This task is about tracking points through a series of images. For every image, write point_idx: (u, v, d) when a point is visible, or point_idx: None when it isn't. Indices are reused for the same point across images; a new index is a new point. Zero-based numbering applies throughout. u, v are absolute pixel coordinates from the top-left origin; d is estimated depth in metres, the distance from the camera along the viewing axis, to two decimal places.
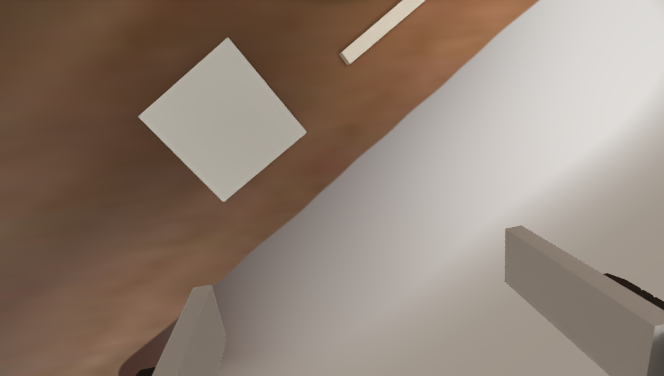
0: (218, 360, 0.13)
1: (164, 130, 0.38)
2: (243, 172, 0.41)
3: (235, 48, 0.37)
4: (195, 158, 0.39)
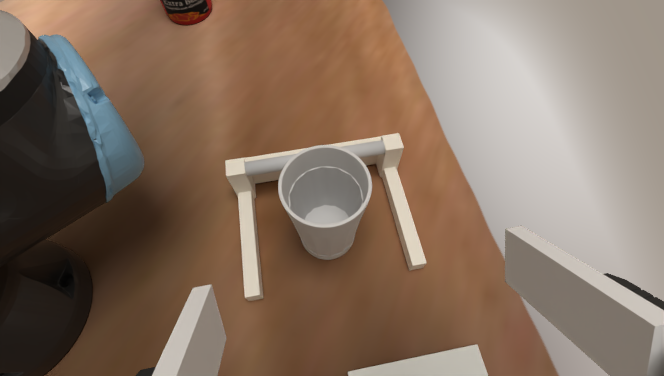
0: (218, 360, 0.13)
1: None
2: None
3: (361, 370, 0.33)
4: None
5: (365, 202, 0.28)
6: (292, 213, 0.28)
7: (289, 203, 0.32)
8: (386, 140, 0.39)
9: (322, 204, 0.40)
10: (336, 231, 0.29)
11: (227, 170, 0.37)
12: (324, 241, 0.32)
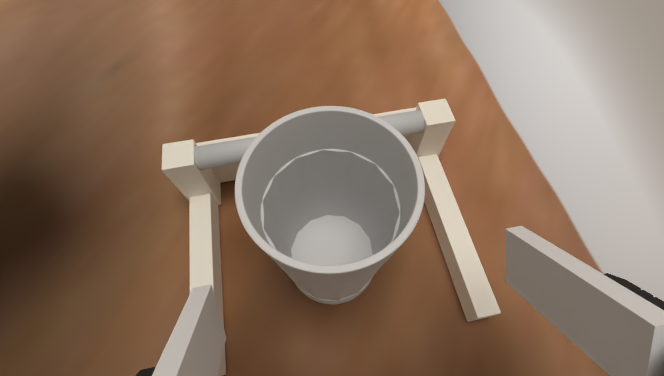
0: (218, 360, 0.13)
1: None
2: None
3: None
4: None
5: (414, 216, 0.14)
6: (261, 242, 0.13)
7: (262, 217, 0.17)
8: (426, 110, 0.24)
9: (323, 214, 0.25)
10: (354, 276, 0.14)
11: (164, 160, 0.22)
12: (328, 287, 0.17)
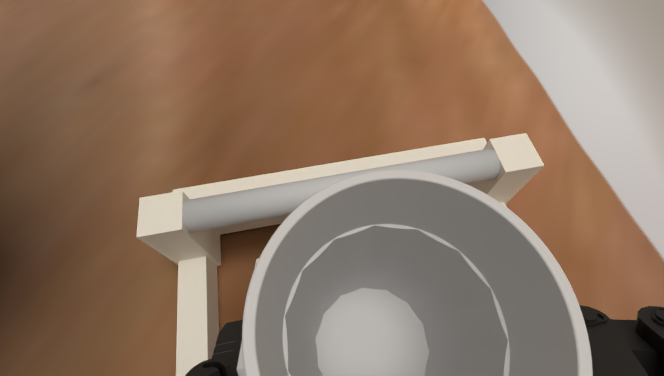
0: None
1: None
2: None
3: None
4: None
5: None
6: None
7: (285, 347, 0.10)
8: (502, 149, 0.17)
9: (358, 287, 0.18)
10: None
11: (141, 222, 0.16)
12: None
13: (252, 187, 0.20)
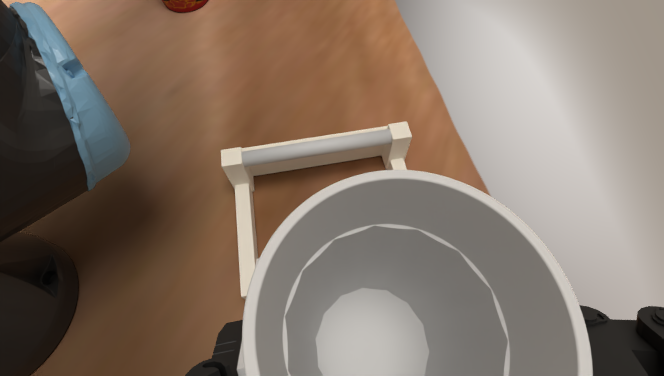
0: None
1: None
2: None
3: None
4: None
5: None
6: None
7: (285, 347, 0.10)
8: (393, 129, 0.36)
9: (358, 287, 0.18)
10: None
11: (223, 160, 0.34)
12: None
13: None
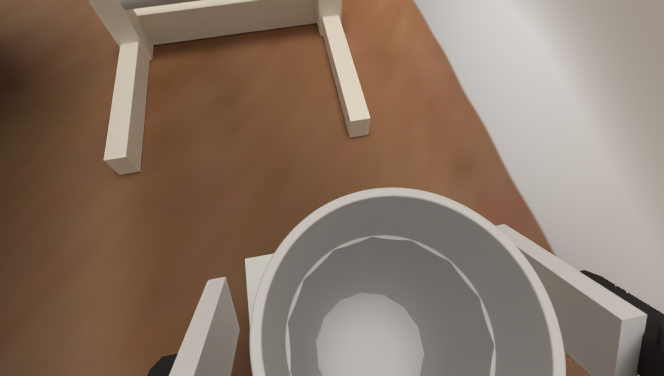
0: (233, 350, 0.14)
1: None
2: None
3: (265, 257, 0.22)
4: None
5: None
6: None
7: (288, 351, 0.11)
8: None
9: (357, 292, 0.19)
10: None
11: None
12: None
13: None
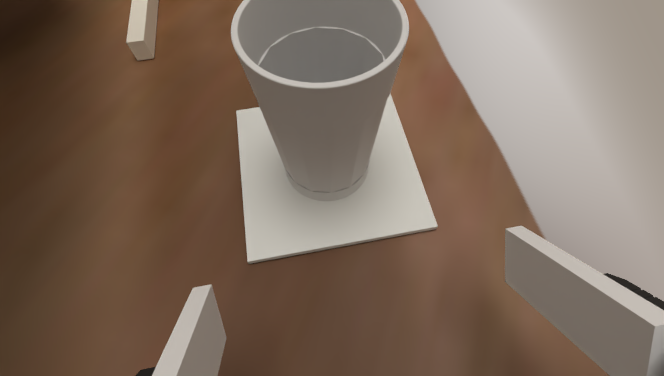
0: (218, 360, 0.13)
1: (286, 239, 0.23)
2: (403, 176, 0.25)
3: (252, 109, 0.29)
4: (350, 224, 0.24)
5: (398, 48, 0.15)
6: (255, 66, 0.14)
7: None
8: None
9: None
10: (342, 109, 0.15)
11: None
12: (320, 147, 0.18)
13: None
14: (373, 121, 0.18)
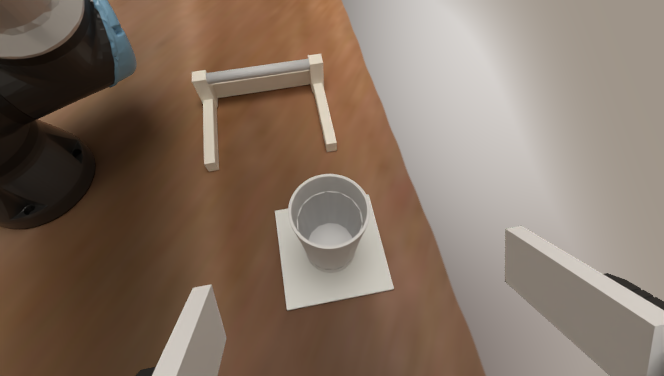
0: (218, 360, 0.13)
1: (308, 296, 0.41)
2: (375, 256, 0.43)
3: (284, 210, 0.47)
4: (344, 287, 0.42)
5: (364, 226, 0.33)
6: (301, 236, 0.32)
7: (297, 225, 0.36)
8: (311, 58, 0.52)
9: (326, 222, 0.44)
10: (339, 251, 0.33)
11: (193, 78, 0.51)
12: (328, 258, 0.36)
13: None
14: (355, 245, 0.36)
